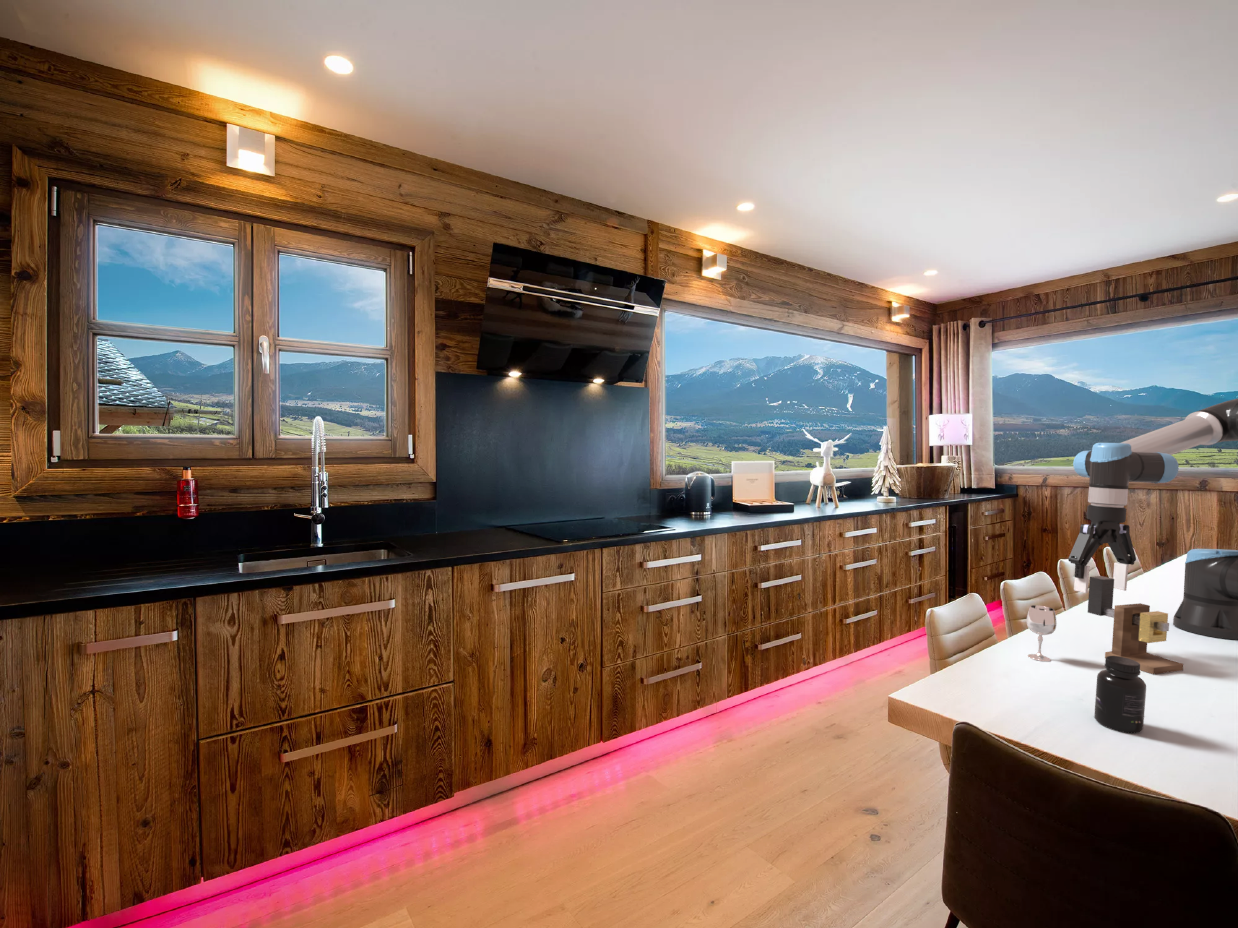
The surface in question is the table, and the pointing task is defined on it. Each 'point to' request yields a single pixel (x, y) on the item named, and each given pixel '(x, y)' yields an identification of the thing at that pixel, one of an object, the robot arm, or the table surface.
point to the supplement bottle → (1120, 695)
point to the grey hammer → (1110, 601)
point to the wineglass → (1041, 626)
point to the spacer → (1152, 627)
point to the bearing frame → (1136, 642)
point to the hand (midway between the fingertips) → (1100, 590)
